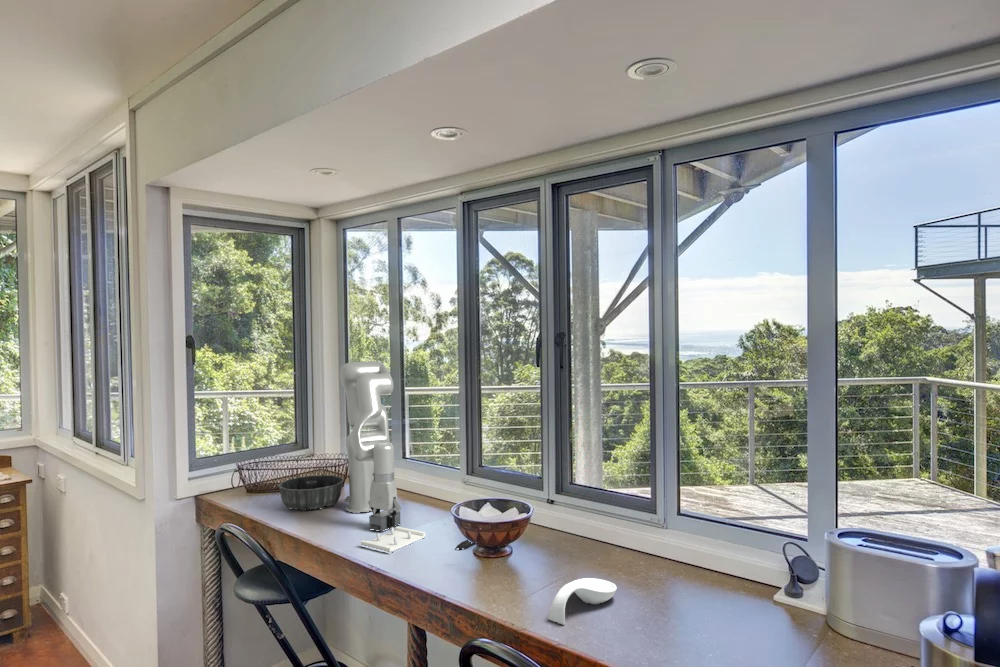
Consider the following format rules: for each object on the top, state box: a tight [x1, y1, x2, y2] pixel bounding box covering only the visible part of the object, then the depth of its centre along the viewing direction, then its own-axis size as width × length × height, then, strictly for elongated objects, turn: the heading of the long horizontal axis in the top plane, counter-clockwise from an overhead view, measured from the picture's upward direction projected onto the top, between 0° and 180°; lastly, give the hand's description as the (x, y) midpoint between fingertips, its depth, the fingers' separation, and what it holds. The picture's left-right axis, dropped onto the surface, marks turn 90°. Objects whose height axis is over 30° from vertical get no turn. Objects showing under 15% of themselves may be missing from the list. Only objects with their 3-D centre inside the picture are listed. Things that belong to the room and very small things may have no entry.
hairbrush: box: [455, 539, 473, 549], centre depth 211 cm, size 8×4×25 cm
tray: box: [360, 526, 426, 552], centre depth 211 cm, size 13×18×4 cm
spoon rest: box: [548, 577, 618, 626], centre depth 161 cm, size 24×12×7 cm, turn 140°
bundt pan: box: [277, 474, 345, 511], centre depth 259 cm, size 26×26×10 cm
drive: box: [368, 510, 401, 531], centre depth 227 cm, size 6×11×5 cm, turn 147°
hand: (384, 525), depth 227 cm, fingers closed on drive, 6 cm apart
